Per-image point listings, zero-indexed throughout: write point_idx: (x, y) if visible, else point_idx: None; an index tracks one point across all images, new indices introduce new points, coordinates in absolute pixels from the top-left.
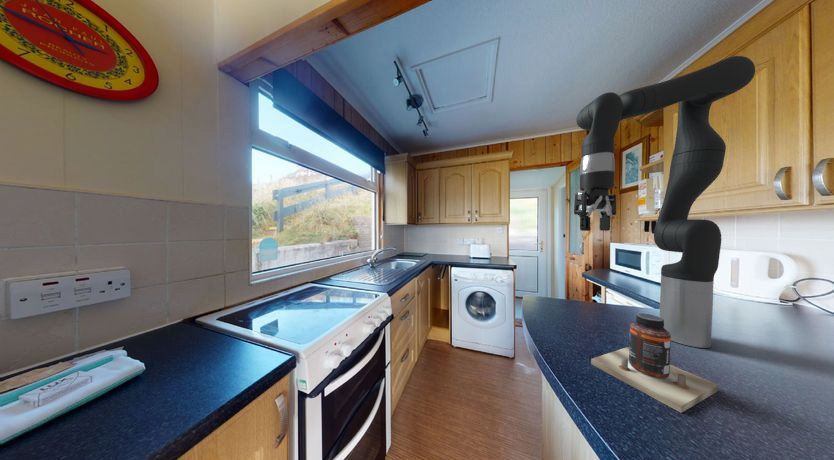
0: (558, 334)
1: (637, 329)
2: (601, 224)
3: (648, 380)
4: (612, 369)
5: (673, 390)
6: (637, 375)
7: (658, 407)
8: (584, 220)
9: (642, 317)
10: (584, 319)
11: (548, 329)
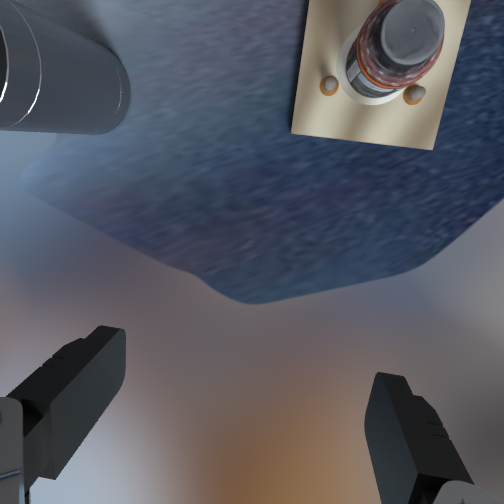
0: (344, 255)
1: (437, 56)
2: (97, 407)
3: None
4: (441, 106)
5: None
6: None
7: (484, 16)
8: (461, 470)
9: (440, 39)
10: (188, 265)
11: (338, 281)
